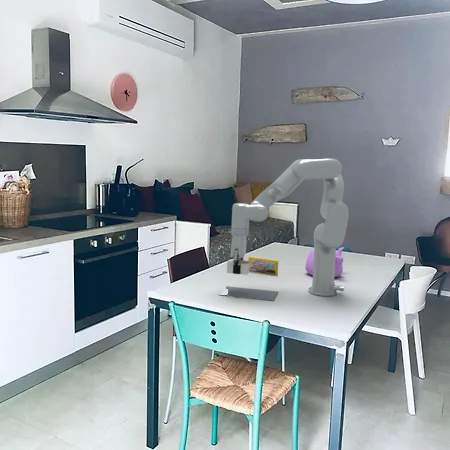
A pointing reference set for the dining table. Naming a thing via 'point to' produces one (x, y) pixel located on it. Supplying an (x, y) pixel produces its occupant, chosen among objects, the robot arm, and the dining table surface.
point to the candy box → (263, 266)
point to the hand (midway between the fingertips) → (238, 272)
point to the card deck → (244, 266)
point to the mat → (252, 293)
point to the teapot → (337, 263)
